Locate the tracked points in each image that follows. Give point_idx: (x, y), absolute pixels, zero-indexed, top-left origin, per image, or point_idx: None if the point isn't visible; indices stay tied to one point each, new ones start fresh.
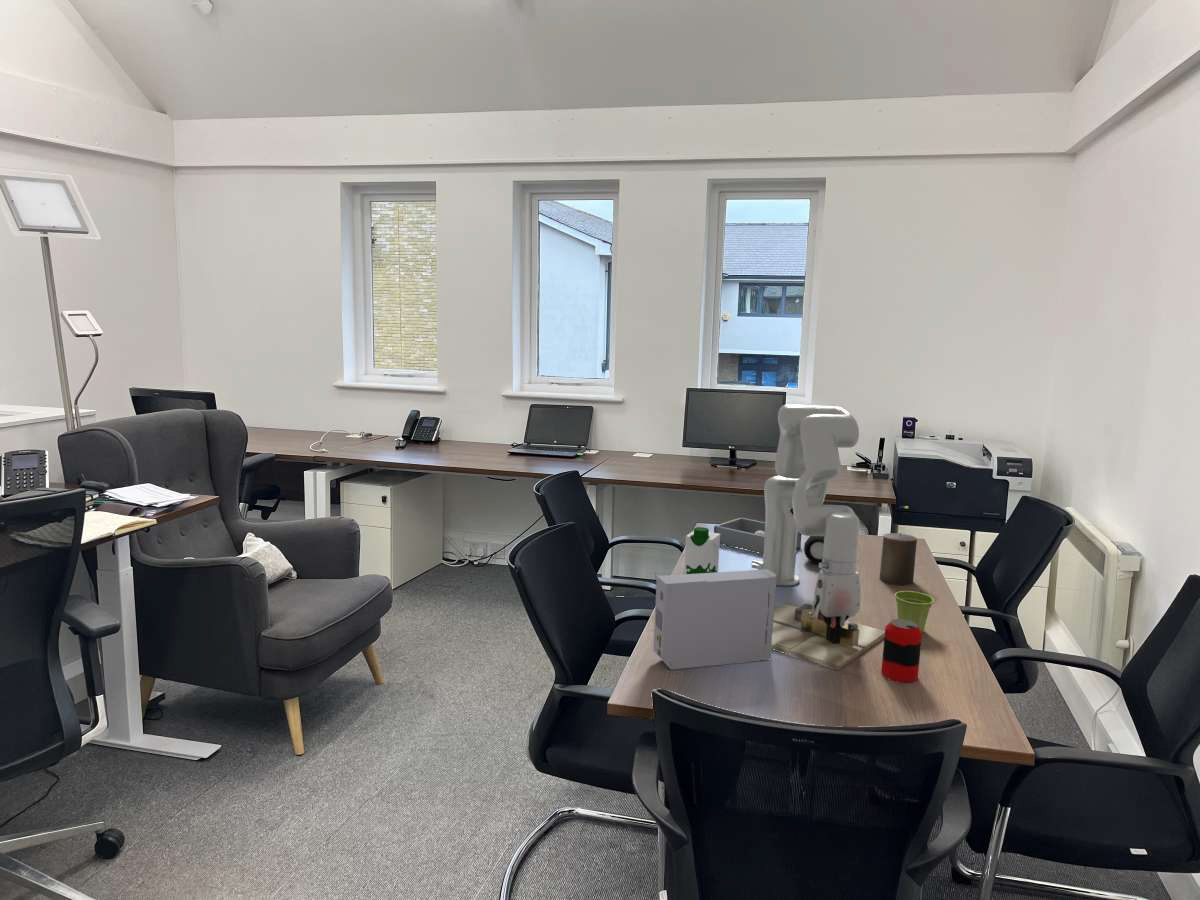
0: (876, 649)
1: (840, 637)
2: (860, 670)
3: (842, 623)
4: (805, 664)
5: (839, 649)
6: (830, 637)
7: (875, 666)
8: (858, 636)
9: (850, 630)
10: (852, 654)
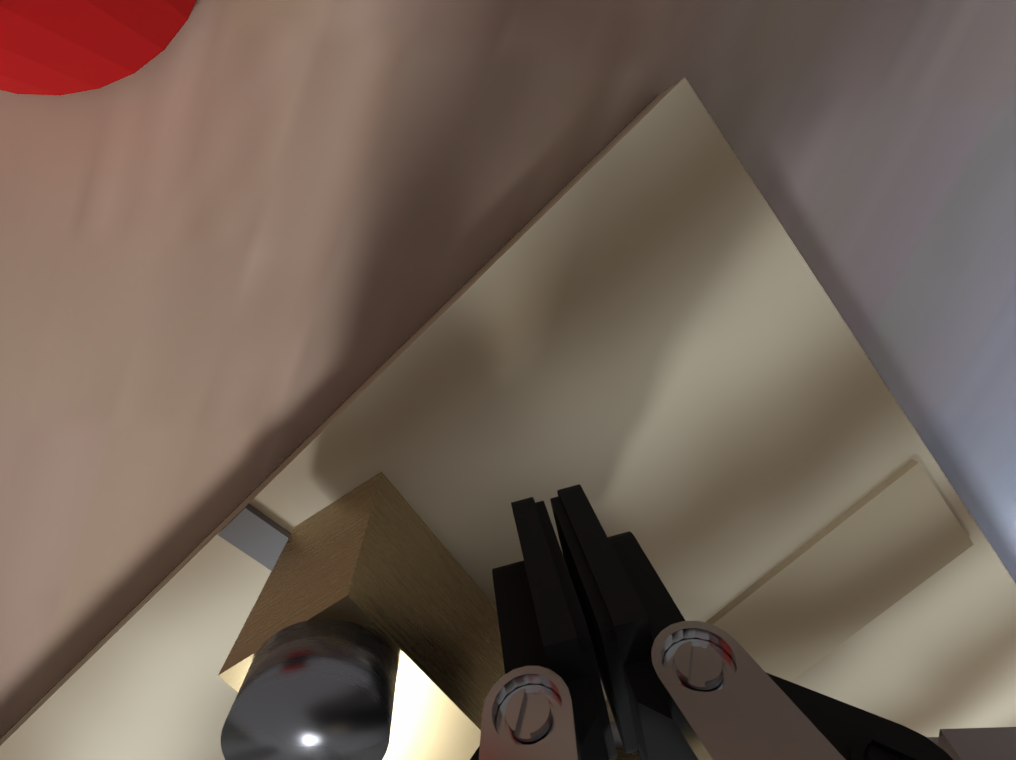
0: (108, 551)
1: (492, 569)
2: (434, 78)
3: (517, 730)
4: (869, 254)
5: (501, 466)
6: (632, 539)
7: (233, 171)
8: (264, 588)
9: (380, 624)
10: (417, 356)
